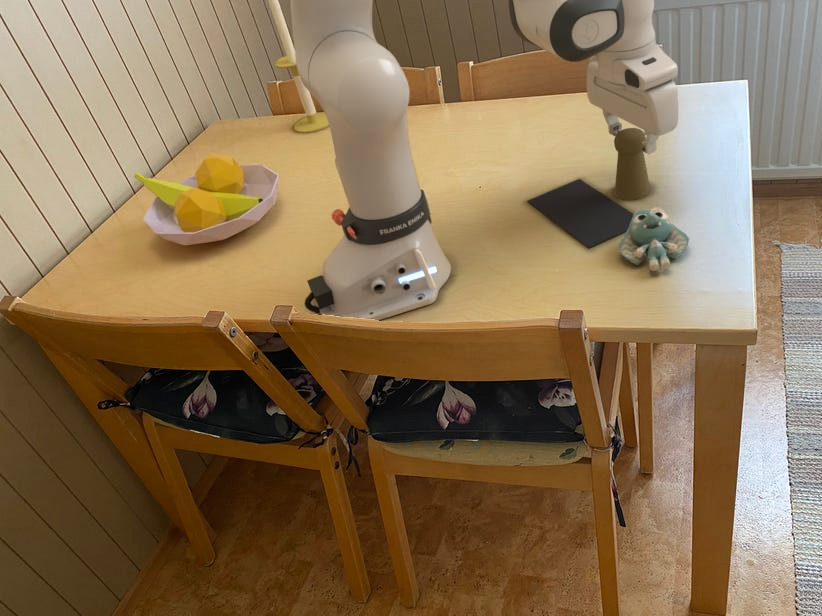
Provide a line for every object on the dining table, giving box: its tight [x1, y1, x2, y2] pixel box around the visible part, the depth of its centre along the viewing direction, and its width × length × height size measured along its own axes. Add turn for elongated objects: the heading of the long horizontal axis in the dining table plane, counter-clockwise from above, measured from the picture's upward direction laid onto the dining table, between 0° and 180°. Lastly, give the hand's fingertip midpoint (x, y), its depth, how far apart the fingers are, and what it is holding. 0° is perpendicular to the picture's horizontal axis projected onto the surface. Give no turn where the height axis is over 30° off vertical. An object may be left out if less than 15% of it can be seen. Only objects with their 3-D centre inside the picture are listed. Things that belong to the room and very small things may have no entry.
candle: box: [267, 0, 330, 134], centre depth 169 cm, size 10×10×32 cm
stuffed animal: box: [617, 206, 690, 272], centre depth 113 cm, size 11×7×12 cm
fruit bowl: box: [133, 153, 280, 246], centre depth 146 cm, size 28×27×11 cm
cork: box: [613, 127, 651, 201], centre depth 127 cm, size 6×6×11 cm
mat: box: [527, 178, 634, 250], centre depth 128 cm, size 11×20×1 cm, turn 27°
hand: (632, 142), depth 125 cm, fingers open, 8 cm apart
